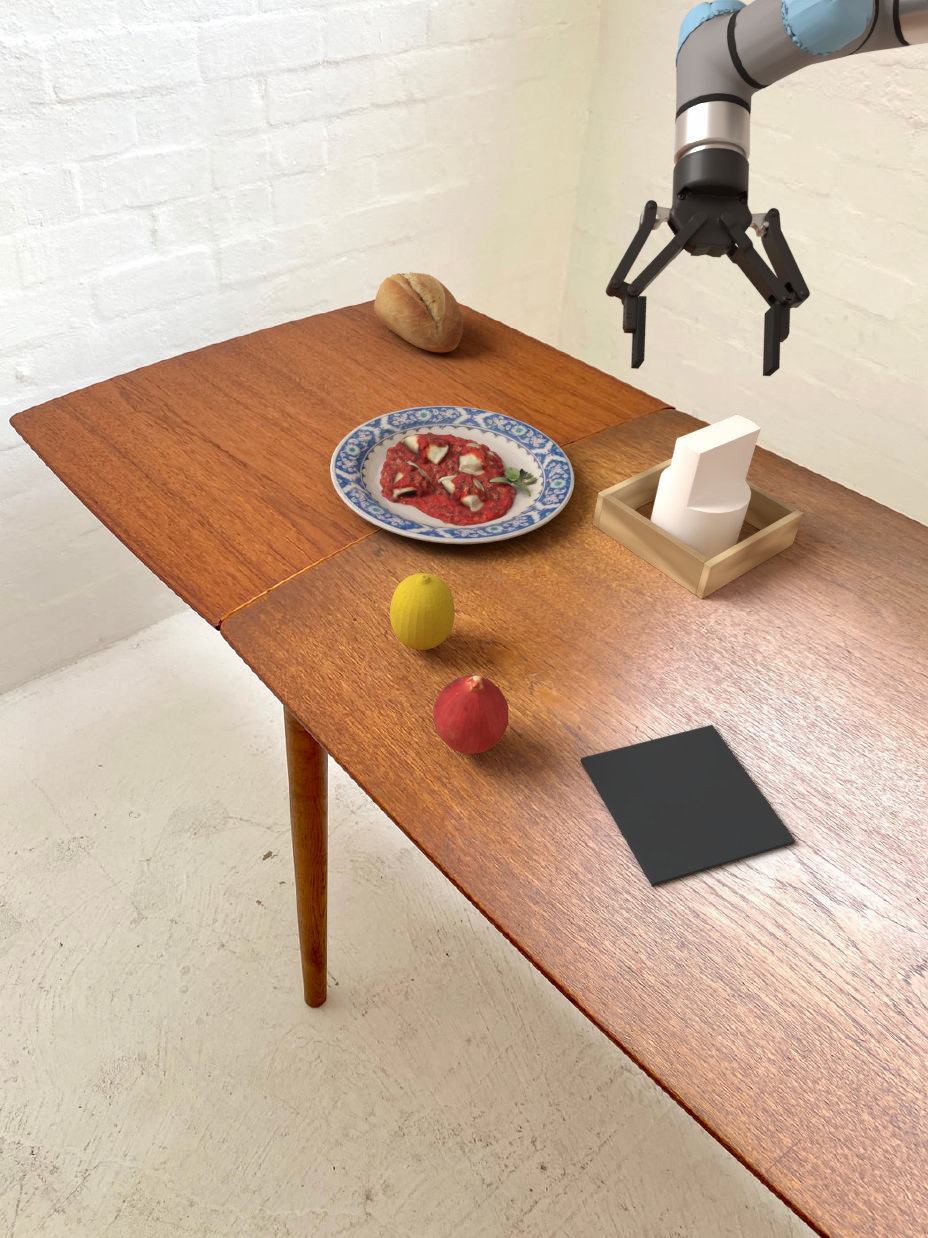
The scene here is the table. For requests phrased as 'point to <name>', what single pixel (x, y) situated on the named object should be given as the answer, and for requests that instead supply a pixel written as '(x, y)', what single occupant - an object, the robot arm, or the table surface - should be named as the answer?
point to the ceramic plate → (452, 474)
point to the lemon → (422, 611)
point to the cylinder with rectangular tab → (708, 486)
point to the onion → (471, 714)
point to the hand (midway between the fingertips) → (704, 368)
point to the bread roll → (420, 311)
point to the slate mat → (685, 804)
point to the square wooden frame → (678, 557)
